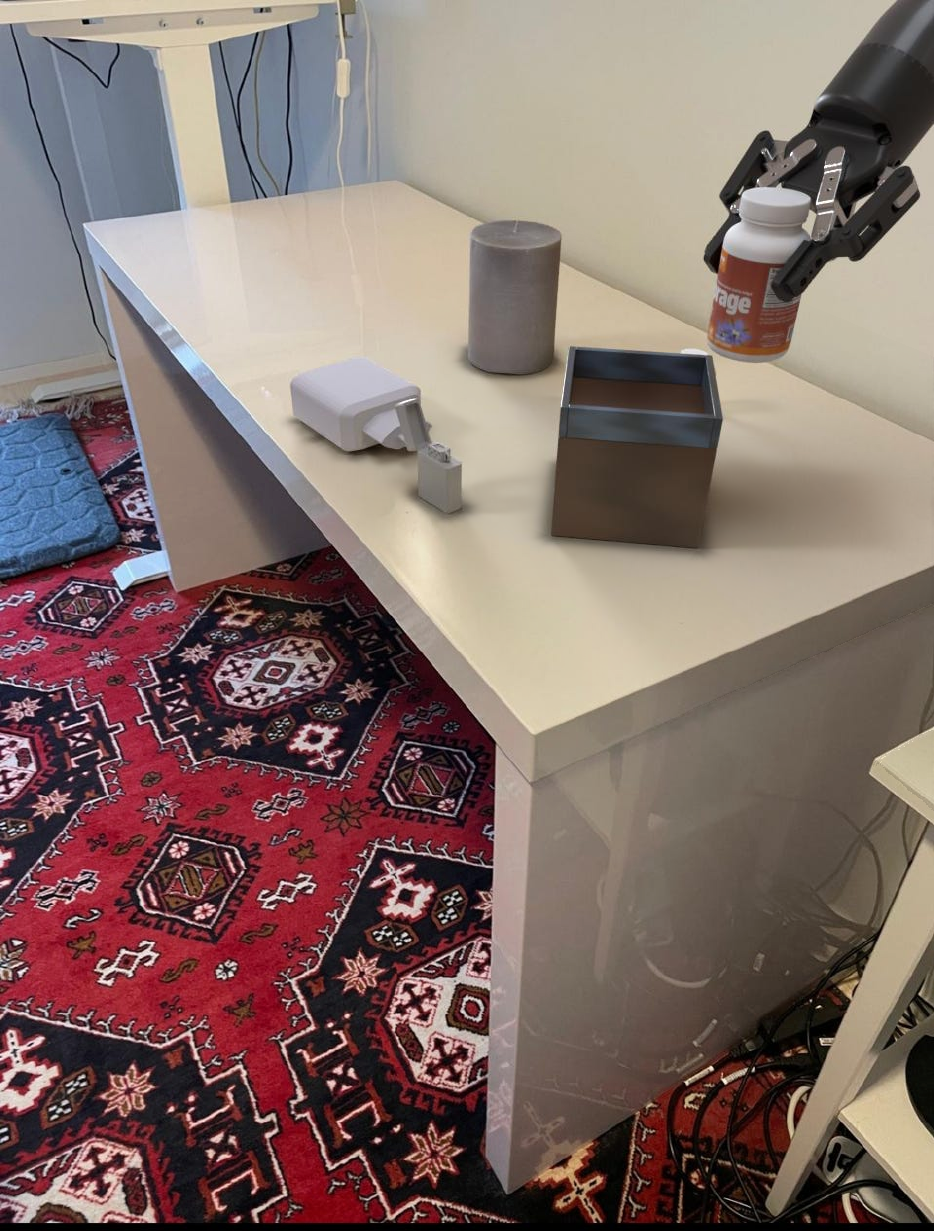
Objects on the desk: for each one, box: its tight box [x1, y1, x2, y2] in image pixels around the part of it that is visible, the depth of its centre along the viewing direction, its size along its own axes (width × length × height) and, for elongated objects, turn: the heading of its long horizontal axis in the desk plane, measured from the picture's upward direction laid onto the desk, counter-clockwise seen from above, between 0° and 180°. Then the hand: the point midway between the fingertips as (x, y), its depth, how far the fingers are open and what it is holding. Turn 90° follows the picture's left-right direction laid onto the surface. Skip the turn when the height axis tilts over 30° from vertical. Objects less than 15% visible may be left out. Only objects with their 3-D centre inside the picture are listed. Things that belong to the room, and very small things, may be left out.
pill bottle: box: [706, 187, 812, 364], centre depth 69 cm, size 6×6×11 cm
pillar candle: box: [467, 219, 563, 375], centre depth 103 cm, size 10×10×15 cm
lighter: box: [395, 398, 463, 515], centre depth 81 cm, size 7×2×8 cm, turn 40°
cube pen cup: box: [550, 345, 724, 549], centre depth 79 cm, size 12×12×12 cm
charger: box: [289, 356, 433, 452], centre depth 91 cm, size 5×9×15 cm
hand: (744, 280), depth 69 cm, fingers closed on pill bottle, 6 cm apart
